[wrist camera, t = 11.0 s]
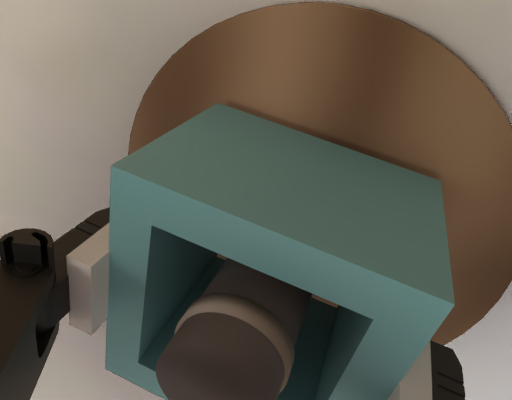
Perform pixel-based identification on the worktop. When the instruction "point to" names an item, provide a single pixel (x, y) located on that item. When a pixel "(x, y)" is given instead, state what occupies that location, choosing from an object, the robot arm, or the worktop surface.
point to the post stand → (344, 134)
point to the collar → (278, 249)
